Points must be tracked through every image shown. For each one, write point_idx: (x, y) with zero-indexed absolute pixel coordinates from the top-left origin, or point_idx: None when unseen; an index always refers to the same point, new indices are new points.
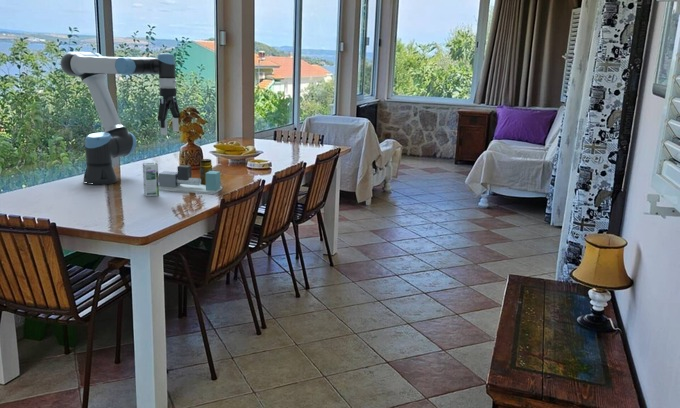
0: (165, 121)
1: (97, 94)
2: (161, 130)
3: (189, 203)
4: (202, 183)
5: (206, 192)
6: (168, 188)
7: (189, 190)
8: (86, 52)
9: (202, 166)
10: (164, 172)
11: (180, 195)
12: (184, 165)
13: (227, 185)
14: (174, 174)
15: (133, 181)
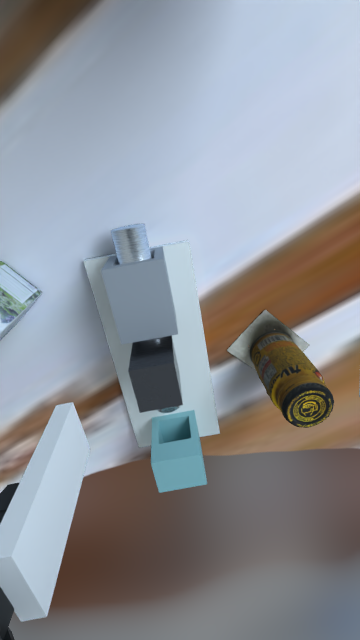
0: (22, 607)
1: None
2: (44, 444)
3: (4, 444)
4: (252, 350)
5: (133, 427)
6: (100, 308)
7: (119, 381)
8: None
9: (272, 390)
10: (137, 278)
11: (67, 376)
12: (170, 380)
13: (269, 418)
14: (124, 340)
15: (167, 41)
